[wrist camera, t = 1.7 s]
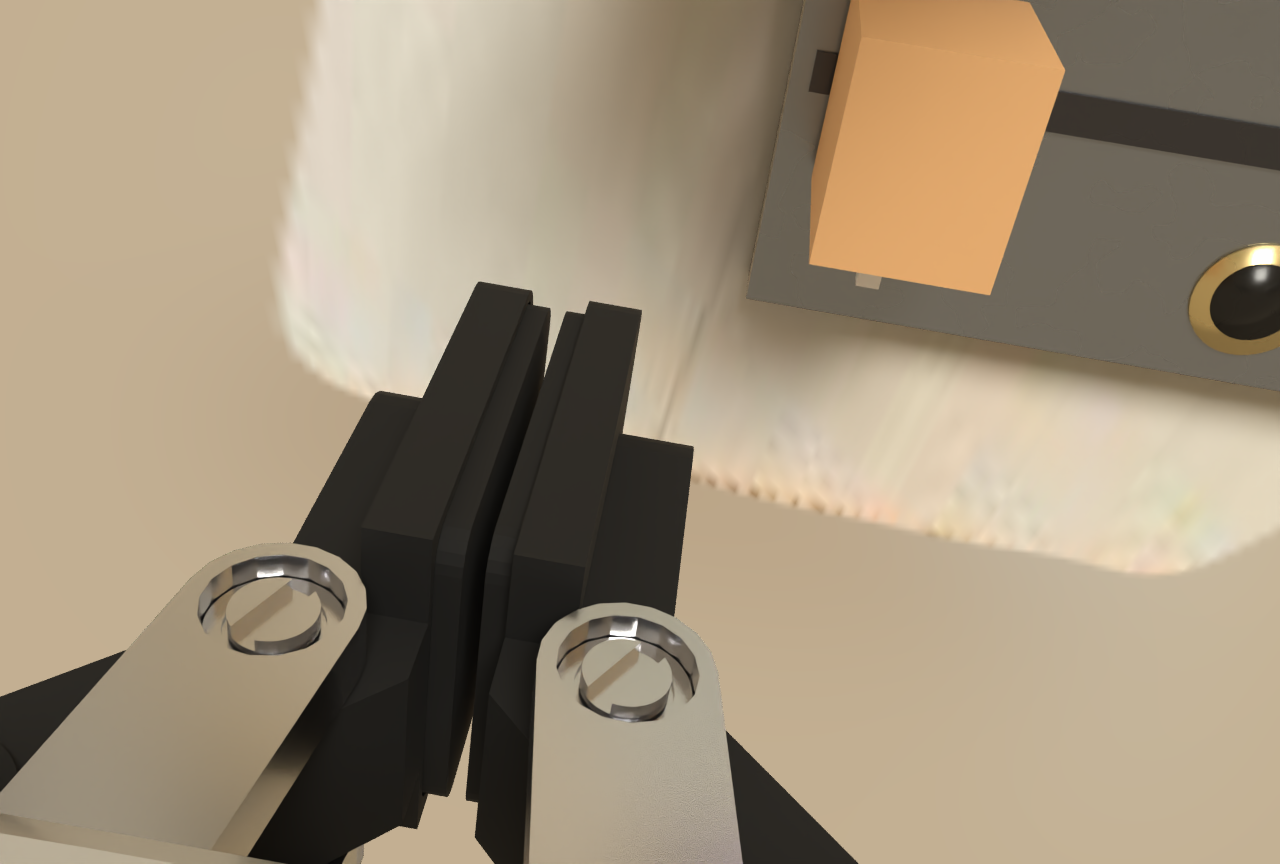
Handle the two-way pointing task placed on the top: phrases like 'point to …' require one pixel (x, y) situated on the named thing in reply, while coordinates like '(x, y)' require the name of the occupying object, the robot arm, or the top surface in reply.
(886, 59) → the block
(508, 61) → the top surface
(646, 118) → the top surface
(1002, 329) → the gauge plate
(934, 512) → the top surface
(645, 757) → the robot arm
